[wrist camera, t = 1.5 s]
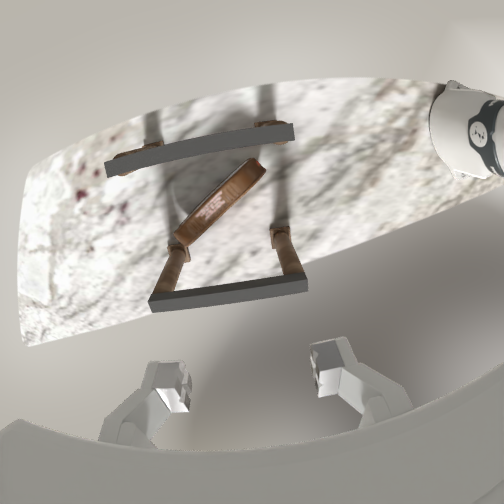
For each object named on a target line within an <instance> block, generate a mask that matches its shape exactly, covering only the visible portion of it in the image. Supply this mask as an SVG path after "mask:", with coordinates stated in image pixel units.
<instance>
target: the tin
mask: <svg viewBox="0 0 504 504" xmlns="http://www.w3.org/2000/svg"><path fill="white" fill-rule="evenodd" d="M265 172H266V169H265V168H263V167H262V166H261V164H260V163H259V162H258V161H257V160H256V159H255V158H250V159H248V160H246V161H245V162H244V163H243V164H242V165H241V166H239V167H238V168H237V169H236V170H235V171H234V172H233V173H232V174H231V175H230V176H228V177H227V178H226V179H225V180H224V181H223V182H222V183H221V184H220V185H219V186H218V187H216V188H215V189H214V190H213V191H212V192H211V193H210V194H209V195H208V196H207V197H206V198H205V199H204V200H203V201H202V202H201V203H200V204H199V205H198V206H197V207H196V208H195V210H194V211H193V212H192V213H191V214H190V215H189V216H188V217H187V218H186V219H185V220H184V221H183V222H182V224H181V225H180V226H179V228H178V229H177V230H176V231H175V232H174V234H173V235H174V237H175V238H176V239H177V240H178V241H179V242H180V243H181V244H182V245H183V246H184V247H185V248H187V247H188V246H189V245H191V244H192V243H193V242H194V241H195V240H197V239H198V238H199V237H200V236H201V235H202V234H203V233H204V232H205V231H206V230H207V229H208V228H209V227H210V226H211V225H212V224H213V223H214V222H215V221H217V220H218V219H219V218H220V217H221V216H222V215H223V214H224V213H225V212H226V211H227V210H228V209H229V208H230V207H232V206H233V205H234V204H235V203H236V202H237V201H238V200H239V199H240V198H241V197H242V196H244V195H245V194H246V193H247V192H248V191H249V190H250V189H251V188H252V187H253V186H254V185H255V184H256V183H257V182H258V181H259V180H260V178H261V177H262V176H263V175H264V174H265Z"/></svg>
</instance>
